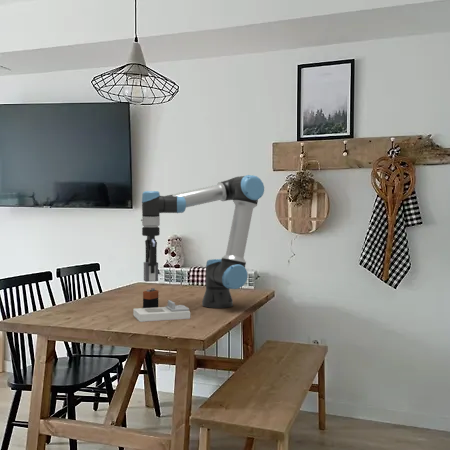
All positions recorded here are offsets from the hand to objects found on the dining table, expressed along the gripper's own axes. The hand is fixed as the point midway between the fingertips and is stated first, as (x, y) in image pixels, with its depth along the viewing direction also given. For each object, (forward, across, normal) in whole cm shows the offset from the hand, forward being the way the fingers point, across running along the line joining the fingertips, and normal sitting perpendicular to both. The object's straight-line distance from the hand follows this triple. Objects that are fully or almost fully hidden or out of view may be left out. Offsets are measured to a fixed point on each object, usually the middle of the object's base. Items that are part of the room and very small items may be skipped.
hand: (151, 279), depth 226 cm
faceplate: (+16, +1, +4) cm, 17 cm away
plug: (0, 0, 0) cm, 0 cm away
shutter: (+13, +1, +12) cm, 17 cm away
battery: (+16, -16, +3) cm, 23 cm away
